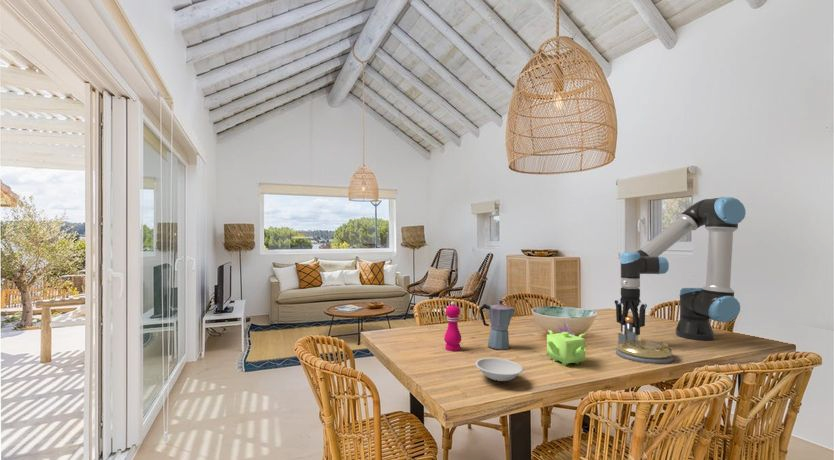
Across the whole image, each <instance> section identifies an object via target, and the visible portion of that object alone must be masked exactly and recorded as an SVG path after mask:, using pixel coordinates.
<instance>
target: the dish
mask: <svg viewBox="0 0 834 460" xmlns="http://www.w3.org/2000/svg"><path fill="white" fill-rule="evenodd" d="M475 366H476V367H477V369H479V371H480V372H481V373H482V374H483V375H484V376H486V377H487V378H488V379H491V380H493V381H496V380H497V381H496V382H507V381H511V380H513V379H515V378H516V377H517V376H519V375H520V374H521V373H523V370H524V369H523V366H522V365H520V364H519V363H517V362H515V361H513V360H509V359H506V358H500V357H483V358H479V359H477V360H476V361H475Z"/></svg>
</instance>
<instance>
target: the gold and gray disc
mask: <svg viewBox="0 0 834 460" xmlns="http://www.w3.org/2000/svg"><path fill="white" fill-rule="evenodd" d="M617 336H618V337H617V338H618V341H617V343H616V345H617V346H616V348H617V349H618V351H620V352H622V353H624V354H627V355H630V356H634V357H640V358H647V359H667V358H670V357H671V356H672V355H673V354H672V353H673V351H672V348H670V347H669V345H668V344H667V343H665V342H664V343H657V342H654V341H653V342H652V341H648V340H647V341H646V338H641V339H640V340H638V341H637V340H635V332H630V331H627V340H626V335H625V334H623V333H620V332H619V333H618V335H617Z"/></svg>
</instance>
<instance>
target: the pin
mask: <svg viewBox="0 0 834 460" xmlns="http://www.w3.org/2000/svg"><path fill="white" fill-rule="evenodd" d="M634 326H635V325H634V320H633V315H631V316H629V315H628V316H626V317H625V335H626V340H627V331H630V332H633V327H634Z"/></svg>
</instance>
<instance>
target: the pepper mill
mask: <svg viewBox="0 0 834 460" xmlns="http://www.w3.org/2000/svg"><path fill="white" fill-rule="evenodd" d="M460 314H461V310H460V307H459V306H458V305H456V303H455V301H451V302H450V304H449V305H448V306H447V307H446V308H445V315H446V321H447V328H446V331H445V333H444V336H443V338H444V339H443V341H444V342H445V343H446V344H445V350H446V351H448V352H456V351H460V350H461V344H460V343H461V342H462V335H461V332H460V329H459V327H458V322H459V321H460V318H459V315H460Z"/></svg>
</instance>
